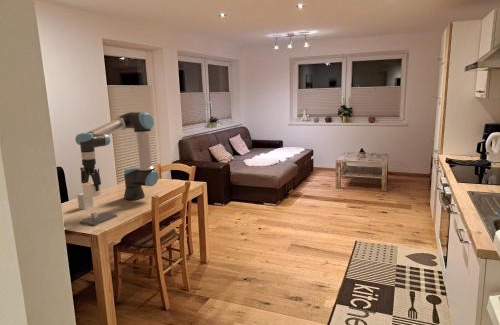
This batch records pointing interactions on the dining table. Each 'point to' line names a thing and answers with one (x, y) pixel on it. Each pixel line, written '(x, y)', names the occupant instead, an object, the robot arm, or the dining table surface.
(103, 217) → the shaft plate
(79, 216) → the dining table surface
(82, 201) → the small box
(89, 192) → the white block
